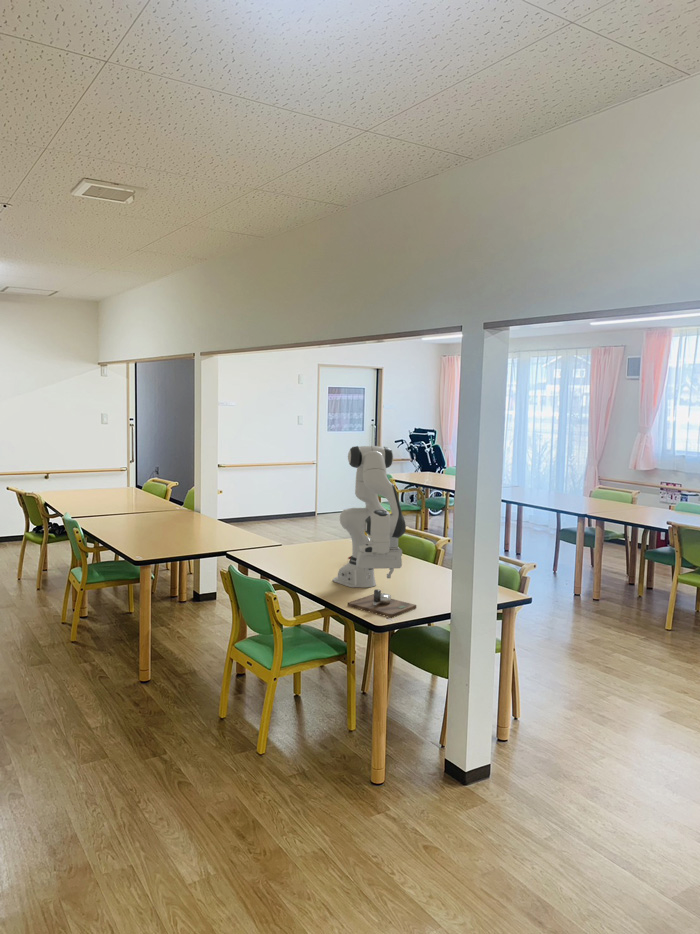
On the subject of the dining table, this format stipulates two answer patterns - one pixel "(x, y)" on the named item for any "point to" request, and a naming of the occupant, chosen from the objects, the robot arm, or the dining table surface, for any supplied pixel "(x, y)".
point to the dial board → (382, 606)
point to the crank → (381, 598)
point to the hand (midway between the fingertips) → (378, 578)
